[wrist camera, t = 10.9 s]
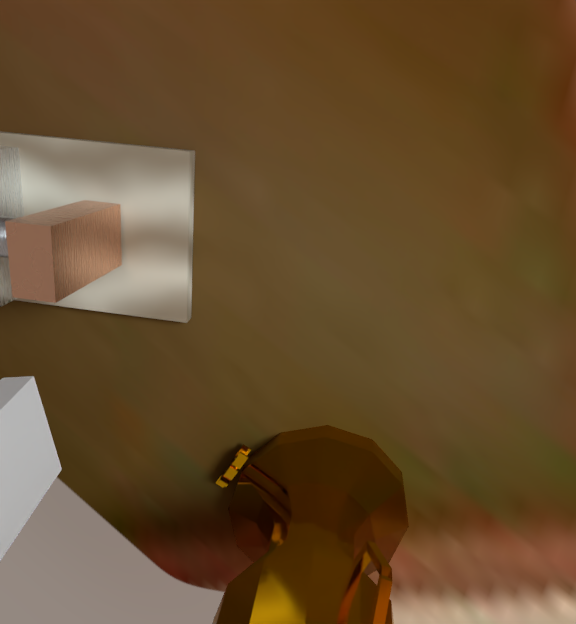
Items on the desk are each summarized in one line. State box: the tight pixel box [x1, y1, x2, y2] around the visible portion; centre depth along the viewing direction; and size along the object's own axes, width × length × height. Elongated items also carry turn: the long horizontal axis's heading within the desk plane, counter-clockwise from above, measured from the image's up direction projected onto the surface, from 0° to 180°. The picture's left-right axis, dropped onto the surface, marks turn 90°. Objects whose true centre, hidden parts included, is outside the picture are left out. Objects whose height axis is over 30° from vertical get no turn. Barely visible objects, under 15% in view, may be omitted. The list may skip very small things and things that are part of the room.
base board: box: [0, 132, 195, 323], centre depth 44 cm, size 14×23×1 cm, turn 85°
